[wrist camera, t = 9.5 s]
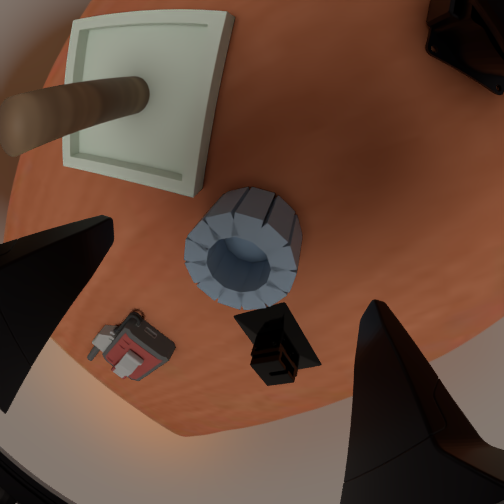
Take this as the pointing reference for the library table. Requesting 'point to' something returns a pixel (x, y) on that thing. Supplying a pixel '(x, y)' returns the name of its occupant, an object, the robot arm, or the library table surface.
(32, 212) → the library table surface
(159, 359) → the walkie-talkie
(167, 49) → the tray
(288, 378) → the black angular piece
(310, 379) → the library table surface
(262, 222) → the ring
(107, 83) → the dowel
